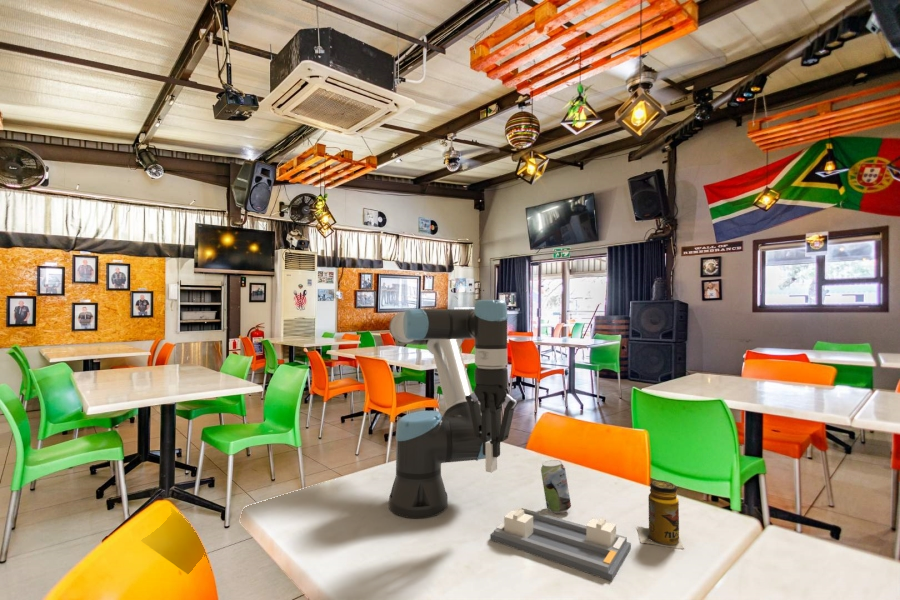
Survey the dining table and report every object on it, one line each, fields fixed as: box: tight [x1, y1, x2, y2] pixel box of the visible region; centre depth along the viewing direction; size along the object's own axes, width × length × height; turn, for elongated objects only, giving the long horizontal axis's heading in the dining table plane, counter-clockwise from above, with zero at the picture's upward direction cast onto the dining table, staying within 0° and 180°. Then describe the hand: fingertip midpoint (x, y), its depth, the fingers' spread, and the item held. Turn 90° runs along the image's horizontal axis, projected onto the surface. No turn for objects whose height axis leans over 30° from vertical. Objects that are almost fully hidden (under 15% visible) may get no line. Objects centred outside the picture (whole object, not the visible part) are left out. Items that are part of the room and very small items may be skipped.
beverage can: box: [540, 459, 572, 514], centre depth 113 cm, size 6×7×12 cm
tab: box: [503, 508, 533, 538], centre depth 98 cm, size 5×4×4 cm
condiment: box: [636, 480, 684, 550], centre depth 99 cm, size 7×8×12 cm
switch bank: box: [489, 508, 632, 582], centre depth 96 cm, size 26×14×2 cm, turn 55°
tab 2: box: [585, 517, 617, 548], centre depth 94 cm, size 5×4×4 cm
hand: (491, 470), depth 102 cm, fingers closed
